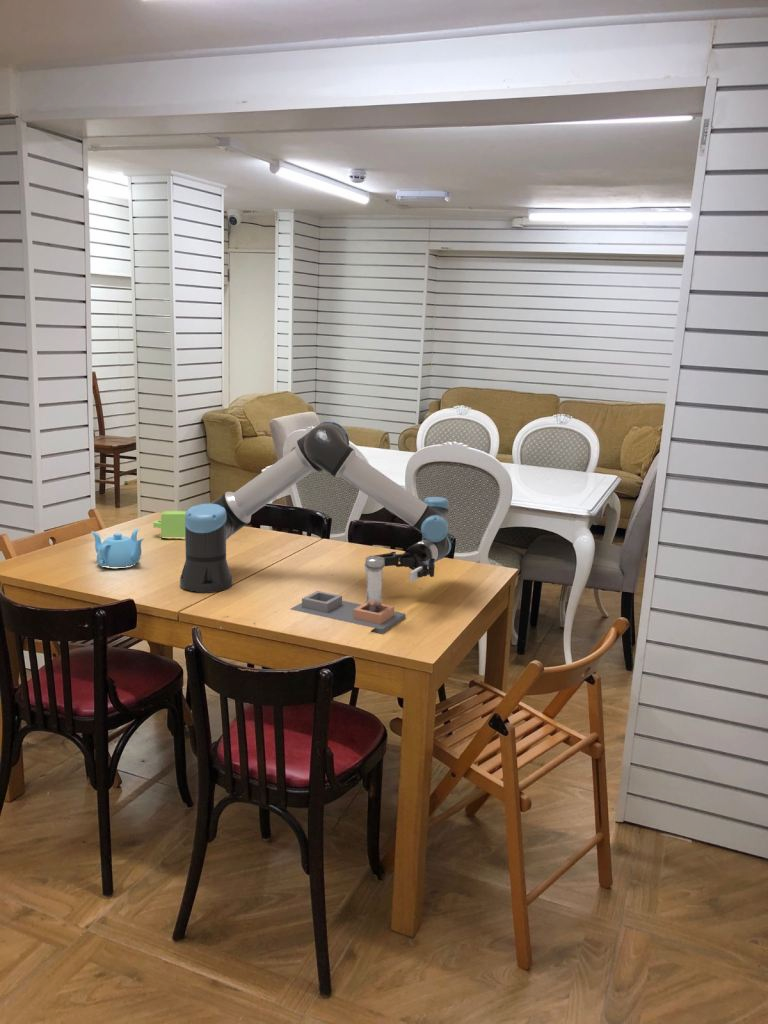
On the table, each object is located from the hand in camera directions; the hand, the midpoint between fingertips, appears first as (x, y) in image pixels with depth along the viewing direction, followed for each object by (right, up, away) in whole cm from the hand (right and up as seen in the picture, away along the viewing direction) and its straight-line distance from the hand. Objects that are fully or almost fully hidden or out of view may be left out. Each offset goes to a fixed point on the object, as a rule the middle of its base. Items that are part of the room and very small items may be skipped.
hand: (387, 573), depth 210 cm
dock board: (-11, -12, 0) cm, 16 cm away
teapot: (-85, 0, +38) cm, 93 cm away
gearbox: (-76, +7, +75) cm, 107 cm away
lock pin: (-4, -11, -3) cm, 12 cm away
